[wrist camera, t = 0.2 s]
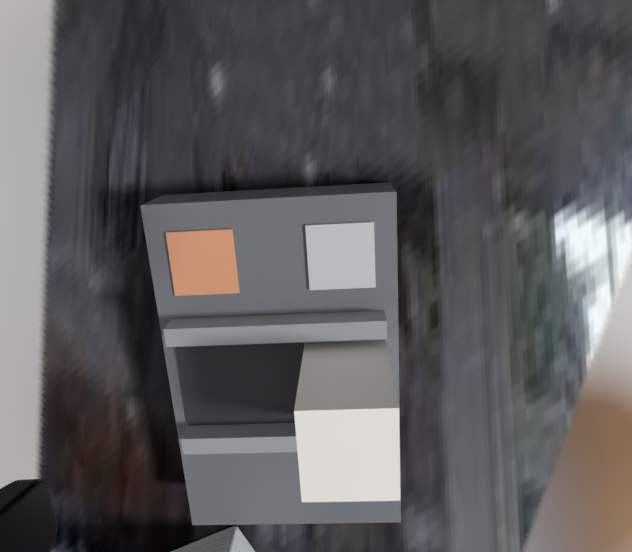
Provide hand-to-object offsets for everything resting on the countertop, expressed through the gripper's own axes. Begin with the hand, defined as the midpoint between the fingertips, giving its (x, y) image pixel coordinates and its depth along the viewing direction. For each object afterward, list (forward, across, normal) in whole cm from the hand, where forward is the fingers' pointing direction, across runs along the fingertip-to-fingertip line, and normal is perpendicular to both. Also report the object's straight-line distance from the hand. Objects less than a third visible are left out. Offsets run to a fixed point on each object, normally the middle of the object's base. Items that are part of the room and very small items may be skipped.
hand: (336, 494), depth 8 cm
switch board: (+14, +2, +4) cm, 15 cm away
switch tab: (+11, 0, +4) cm, 12 cm away
